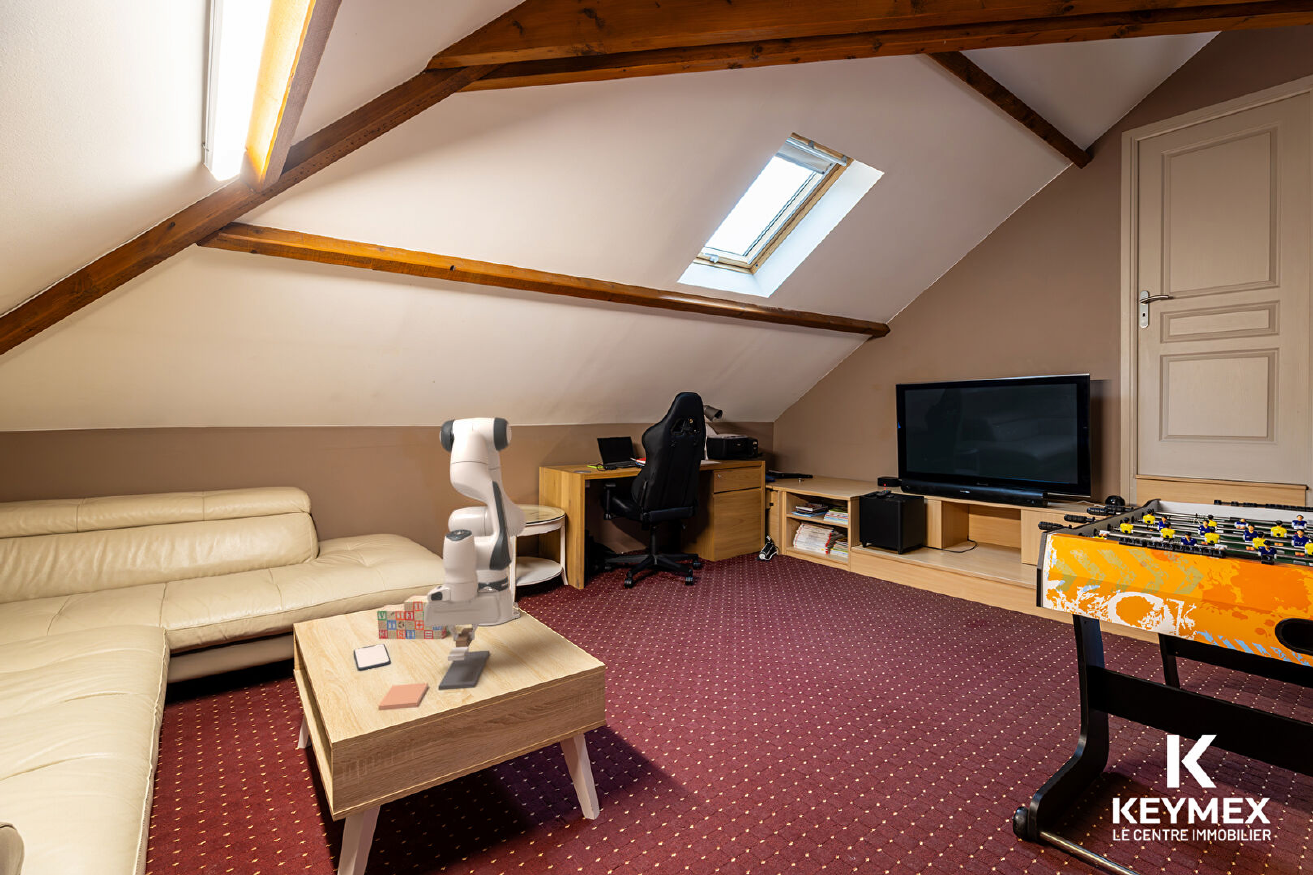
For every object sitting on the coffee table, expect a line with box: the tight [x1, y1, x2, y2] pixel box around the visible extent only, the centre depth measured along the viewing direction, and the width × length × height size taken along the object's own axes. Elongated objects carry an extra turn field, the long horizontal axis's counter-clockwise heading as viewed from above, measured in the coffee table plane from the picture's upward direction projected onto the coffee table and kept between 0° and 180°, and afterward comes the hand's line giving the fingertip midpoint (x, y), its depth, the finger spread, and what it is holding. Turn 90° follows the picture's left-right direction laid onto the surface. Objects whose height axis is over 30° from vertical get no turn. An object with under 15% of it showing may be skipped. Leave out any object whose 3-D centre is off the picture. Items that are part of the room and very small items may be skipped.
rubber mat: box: [438, 649, 490, 691], centre depth 172 cm, size 22×9×1 cm, turn 5°
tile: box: [378, 682, 429, 711], centre depth 156 cm, size 2×9×11 cm
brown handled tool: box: [447, 627, 474, 662], centre depth 169 cm, size 16×4×3 cm, turn 5°
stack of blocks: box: [376, 595, 451, 640], centre depth 200 cm, size 21×6×12 cm, turn 85°
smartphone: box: [353, 643, 391, 672], centre depth 182 cm, size 9×2×16 cm
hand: (464, 639), depth 171 cm, fingers closed on brown handled tool, 3 cm apart
